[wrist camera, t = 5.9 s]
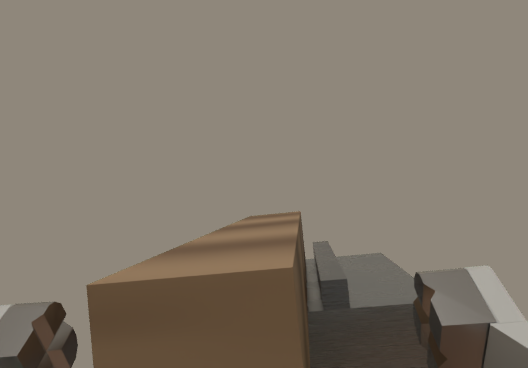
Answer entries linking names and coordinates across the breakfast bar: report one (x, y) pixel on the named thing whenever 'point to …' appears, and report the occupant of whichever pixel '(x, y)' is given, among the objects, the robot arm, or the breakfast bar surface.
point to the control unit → (360, 312)
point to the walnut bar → (209, 302)
